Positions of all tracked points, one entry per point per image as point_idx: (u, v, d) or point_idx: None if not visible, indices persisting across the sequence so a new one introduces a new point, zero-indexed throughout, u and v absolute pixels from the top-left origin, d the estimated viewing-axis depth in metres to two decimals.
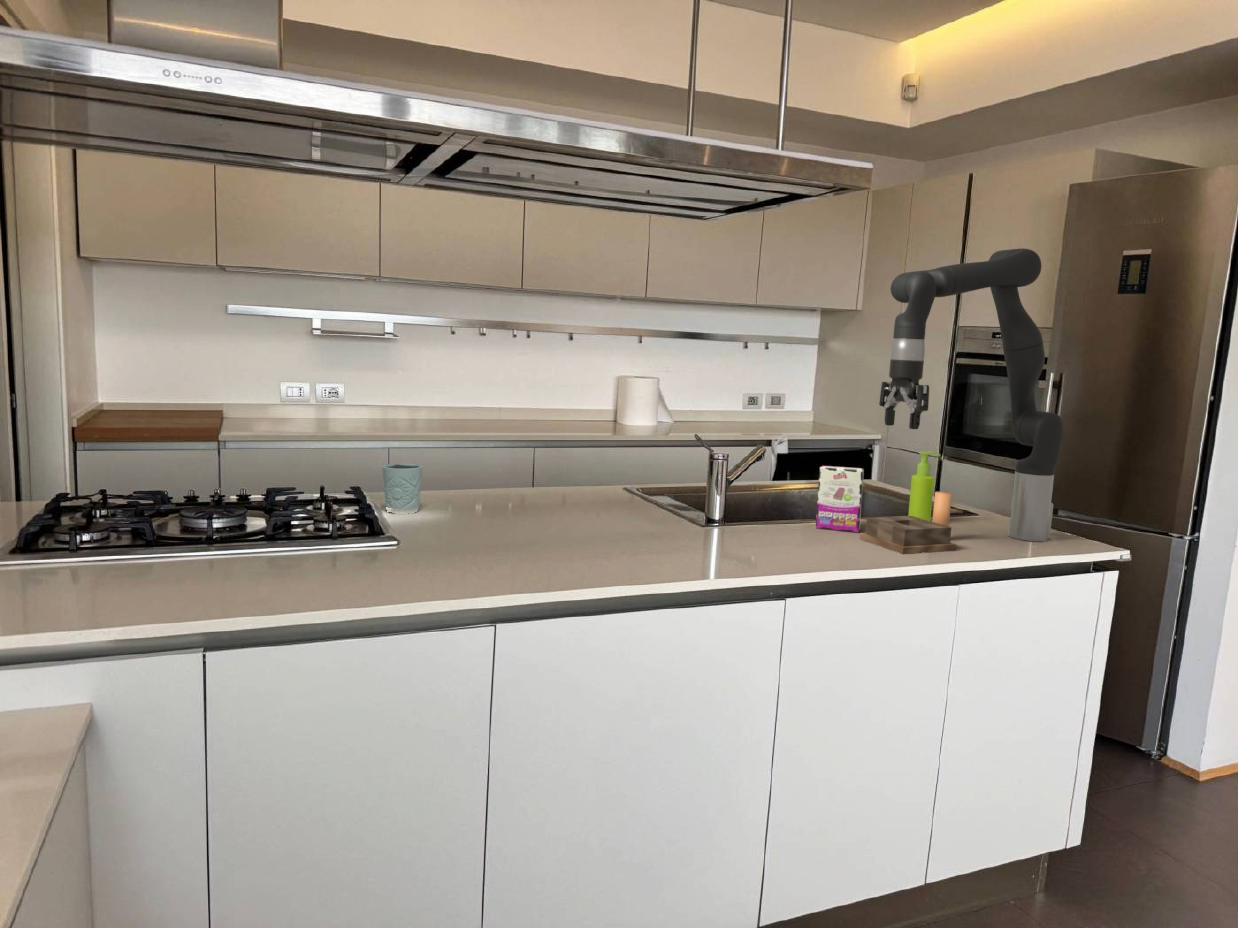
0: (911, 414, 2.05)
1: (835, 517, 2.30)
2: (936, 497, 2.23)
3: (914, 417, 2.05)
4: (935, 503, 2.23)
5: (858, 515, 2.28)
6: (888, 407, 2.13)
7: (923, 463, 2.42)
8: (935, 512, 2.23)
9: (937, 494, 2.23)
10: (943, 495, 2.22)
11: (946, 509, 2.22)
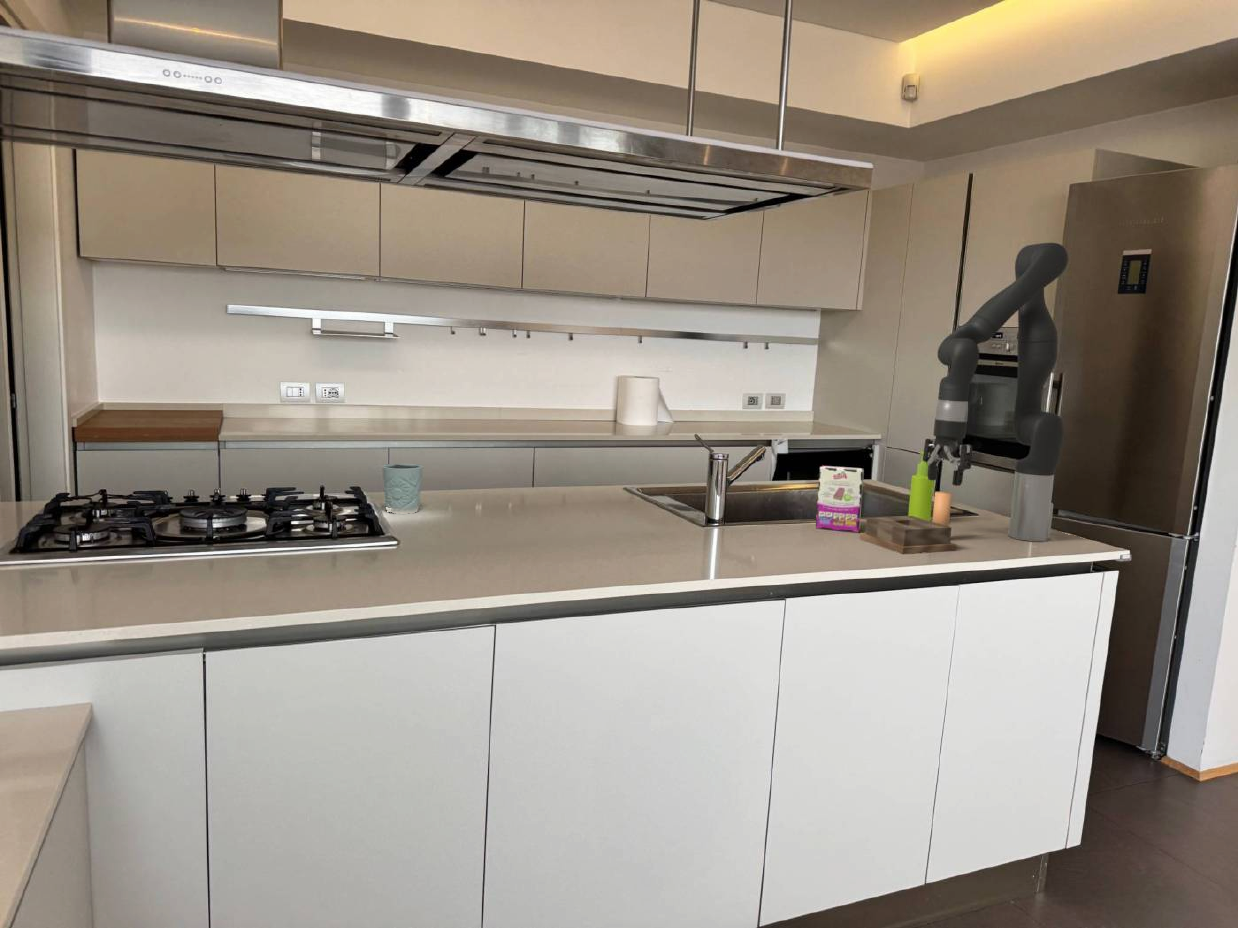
0: (954, 471, 2.18)
1: (835, 517, 2.30)
2: (936, 497, 2.23)
3: (957, 474, 2.18)
4: (935, 503, 2.23)
5: (858, 515, 2.28)
6: (931, 463, 2.26)
7: (923, 463, 2.42)
8: (935, 512, 2.23)
9: (937, 494, 2.23)
10: (943, 495, 2.22)
11: (946, 509, 2.22)
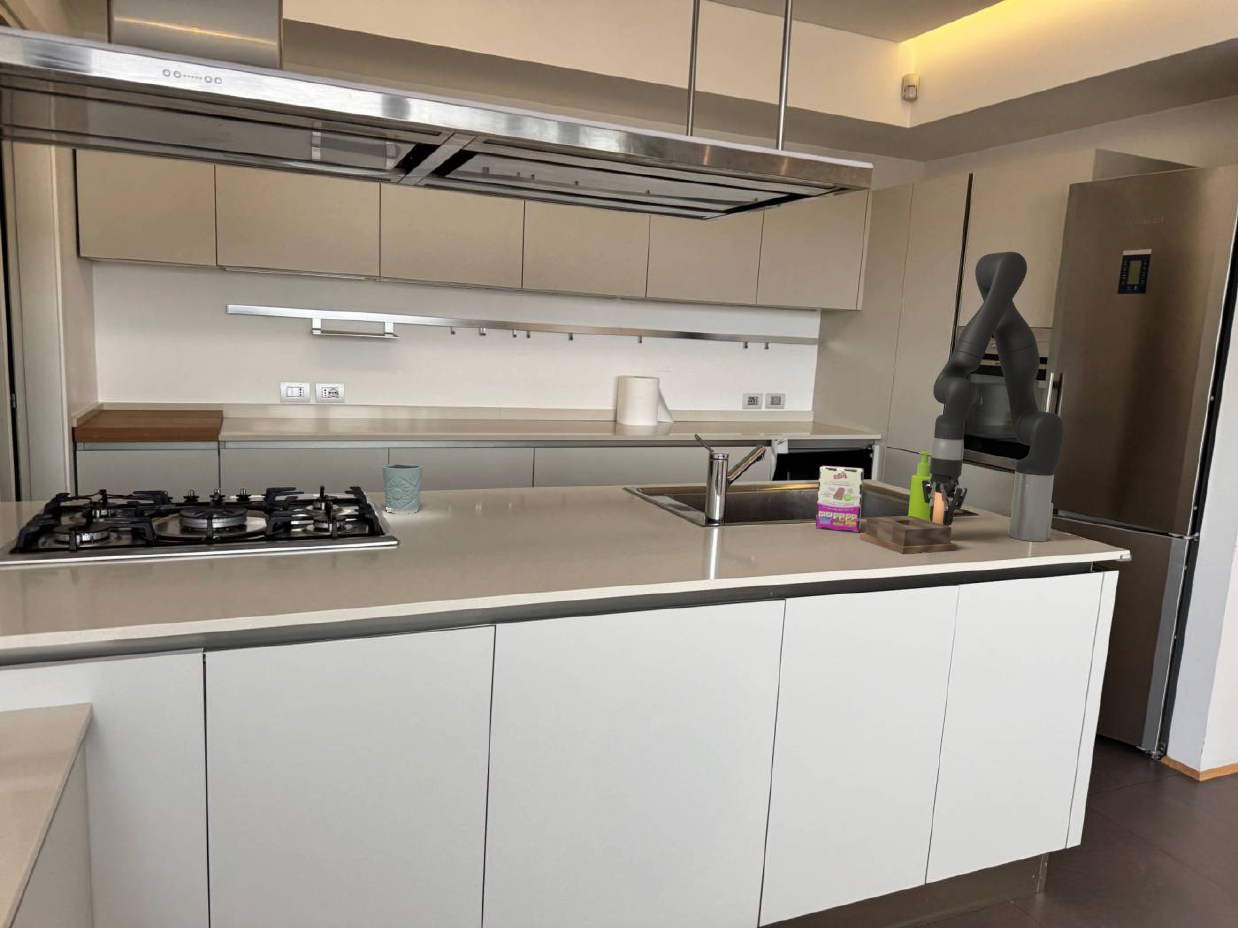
0: (945, 512, 2.21)
1: (835, 517, 2.30)
2: (936, 497, 2.23)
3: (947, 514, 2.21)
4: (935, 503, 2.23)
5: (858, 515, 2.28)
6: (933, 505, 2.25)
7: (923, 463, 2.42)
8: (935, 512, 2.23)
9: (937, 494, 2.23)
10: None
11: None
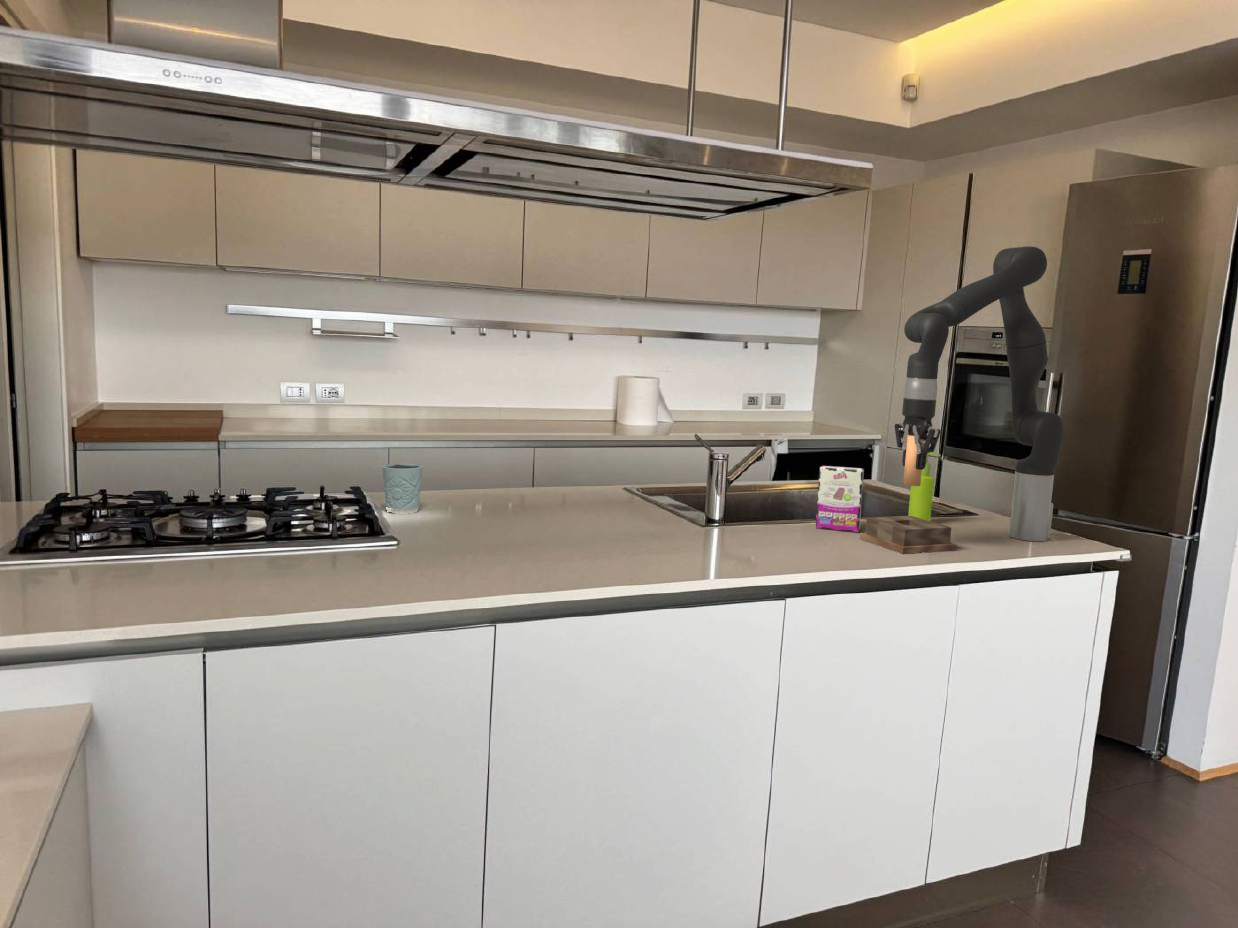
0: (917, 455, 2.12)
1: (835, 517, 2.30)
2: (908, 440, 2.13)
3: (920, 457, 2.11)
4: (907, 446, 2.13)
5: (858, 515, 2.28)
6: None
7: None
8: (907, 456, 2.13)
9: (909, 437, 2.13)
10: None
11: None
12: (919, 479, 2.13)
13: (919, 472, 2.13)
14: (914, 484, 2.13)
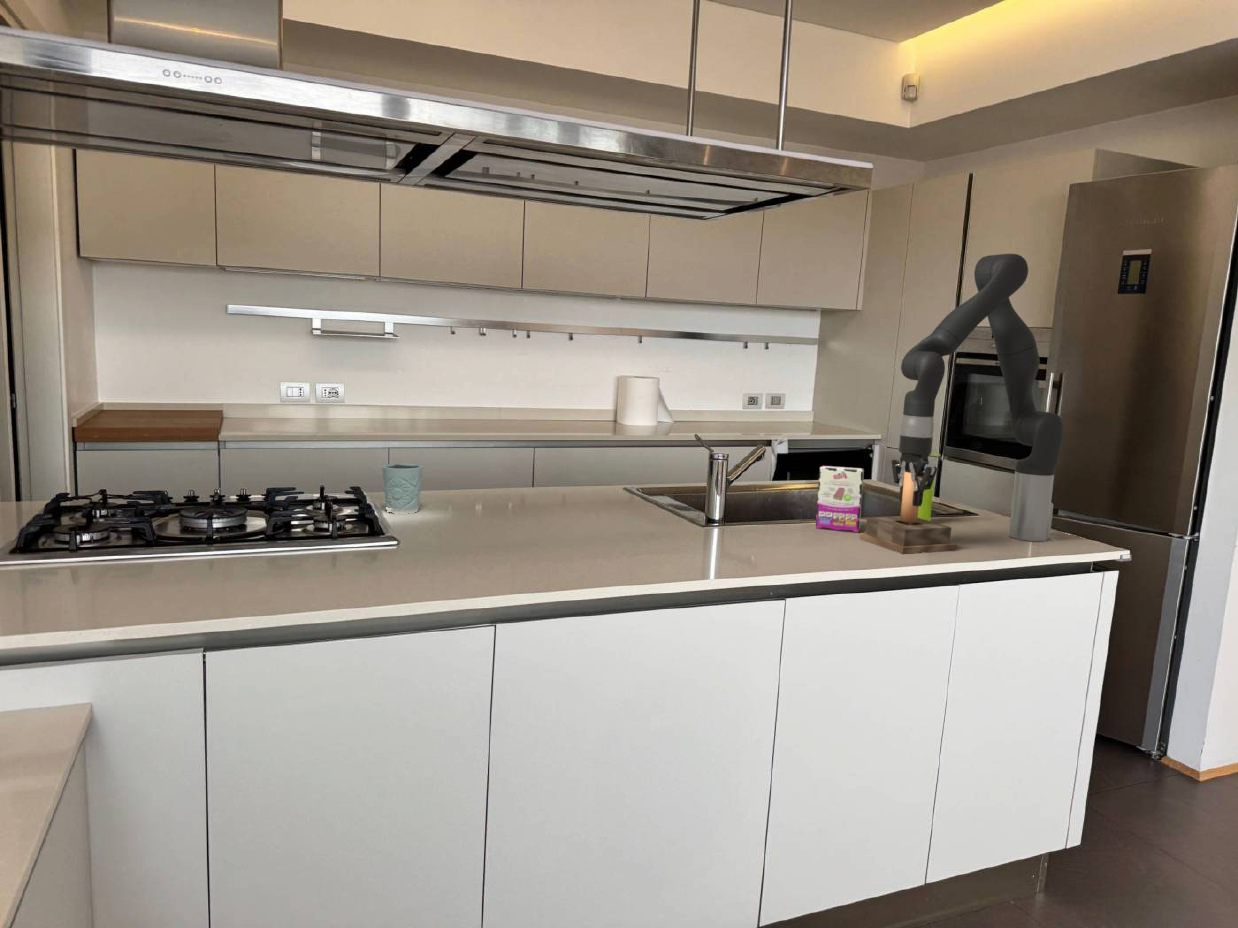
0: (914, 492, 2.13)
1: (835, 517, 2.30)
2: (905, 477, 2.14)
3: (917, 494, 2.13)
4: (904, 483, 2.15)
5: (858, 515, 2.28)
6: None
7: None
8: (904, 492, 2.15)
9: (906, 474, 2.14)
10: None
11: None
12: (916, 515, 2.15)
13: (916, 509, 2.14)
14: (911, 520, 2.14)
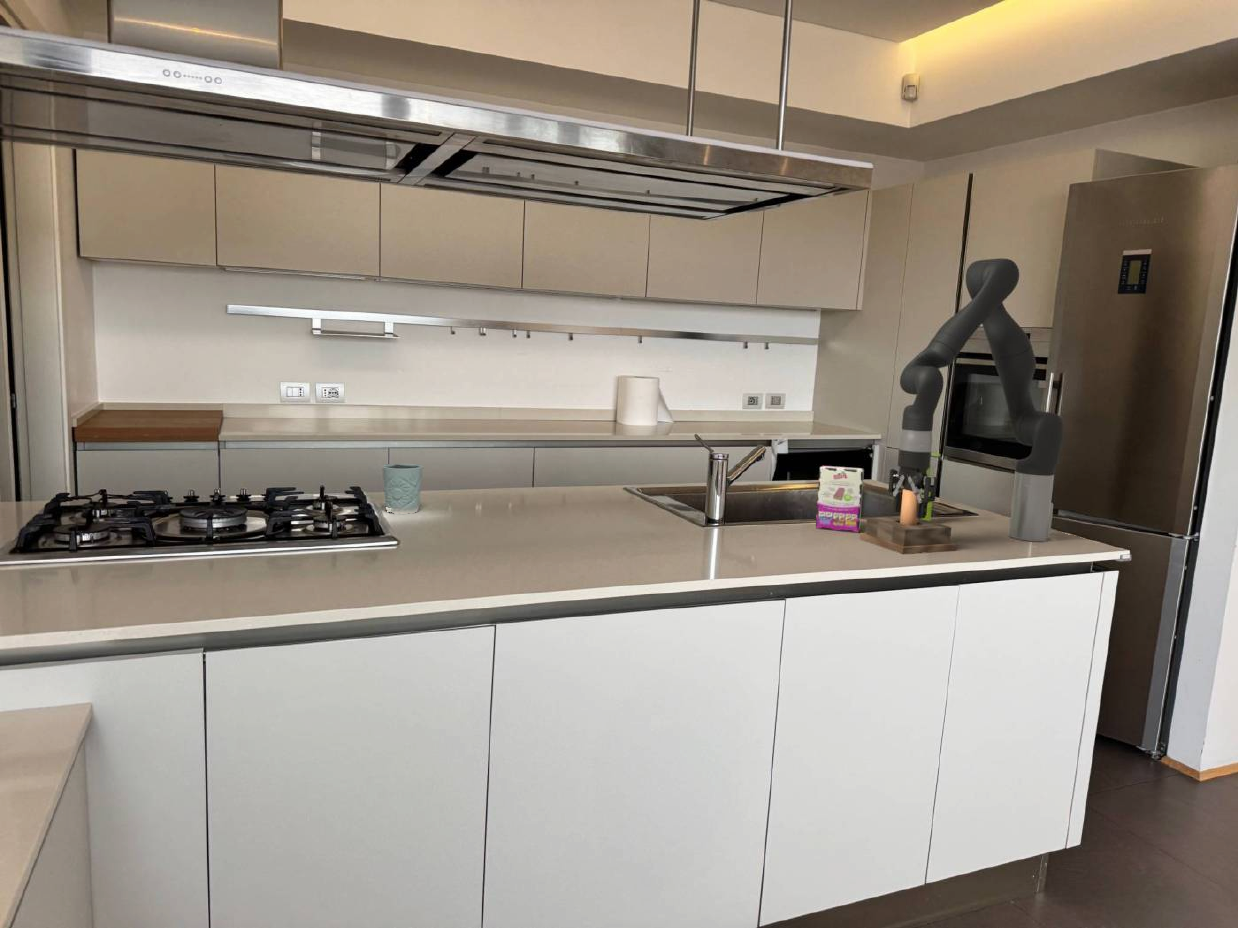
0: (918, 504, 2.12)
1: (835, 517, 2.30)
2: (904, 495, 2.15)
3: (921, 507, 2.11)
4: (903, 501, 2.15)
5: (858, 515, 2.28)
6: (897, 494, 2.19)
7: None
8: (903, 510, 2.15)
9: (905, 492, 2.15)
10: (911, 493, 2.14)
11: (914, 507, 2.14)
12: None
13: None
14: None
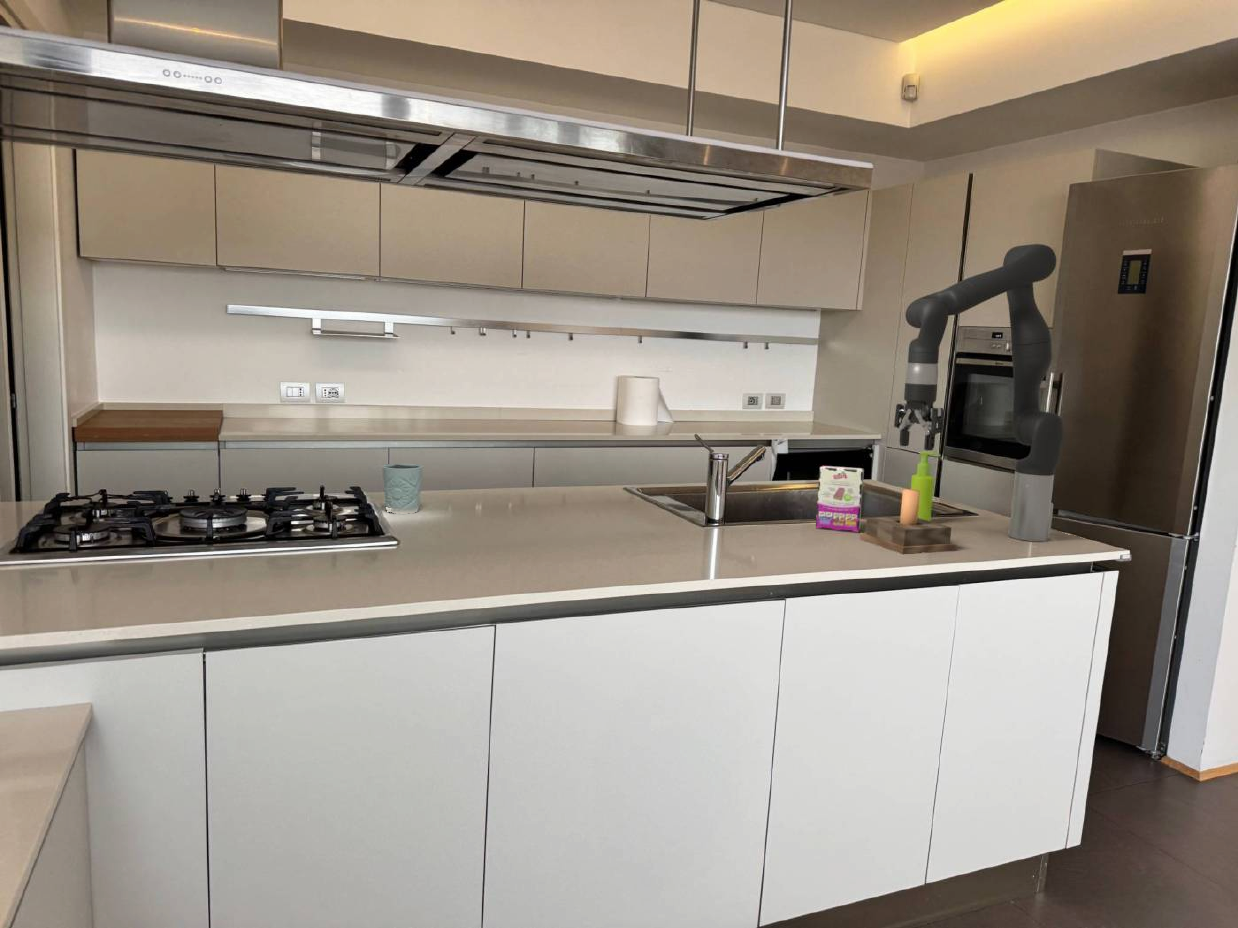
0: (926, 436, 2.13)
1: (835, 517, 2.30)
2: (904, 495, 2.15)
3: (928, 438, 2.13)
4: (903, 501, 2.15)
5: (858, 515, 2.28)
6: (903, 428, 2.20)
7: (923, 463, 2.42)
8: (903, 510, 2.15)
9: (905, 492, 2.15)
10: (911, 493, 2.14)
11: (914, 507, 2.14)
12: None
13: None
14: None
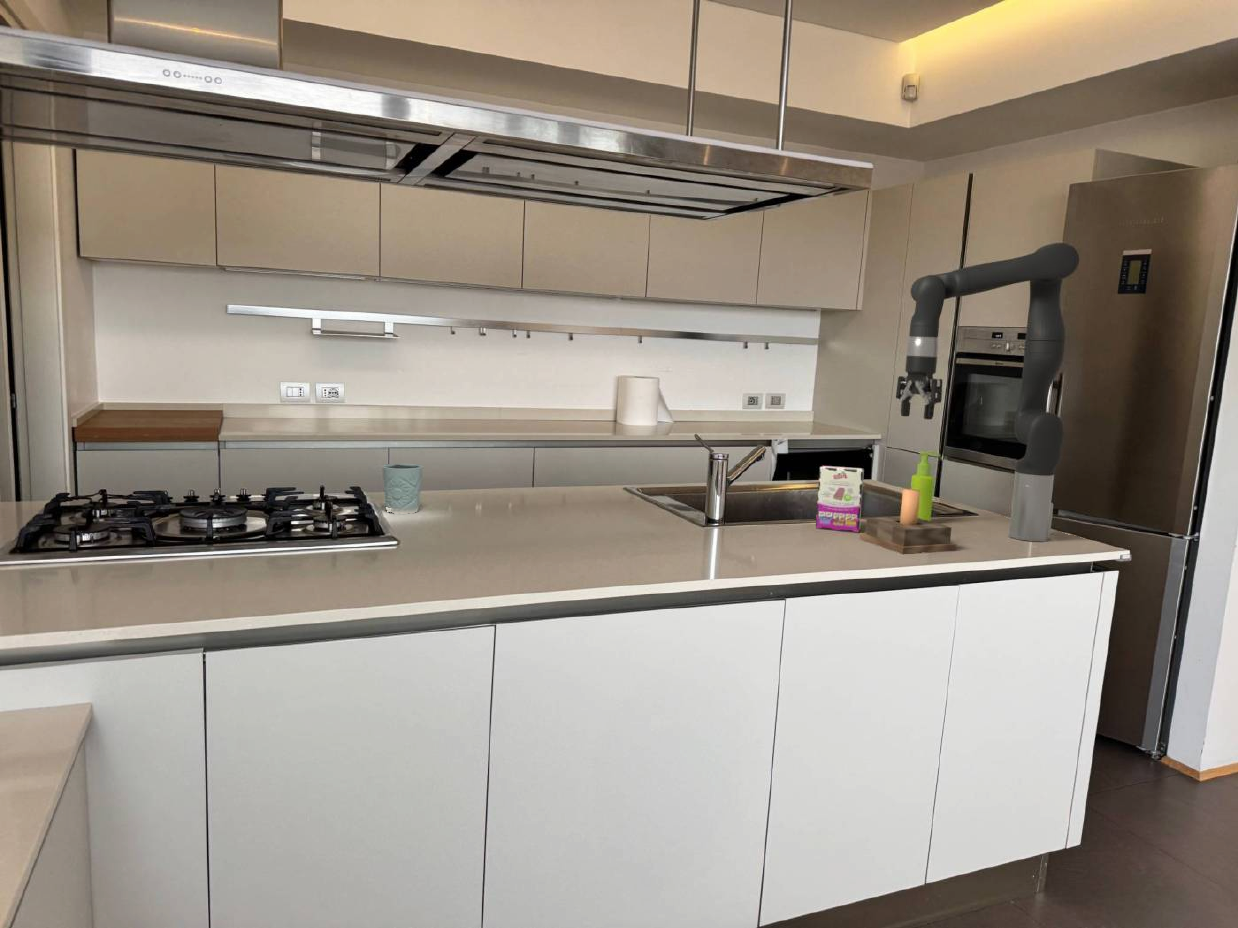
0: (926, 405, 2.24)
1: (835, 517, 2.30)
2: (904, 495, 2.15)
3: (928, 408, 2.24)
4: (903, 501, 2.15)
5: (858, 515, 2.28)
6: (904, 399, 2.32)
7: (923, 463, 2.42)
8: (903, 510, 2.15)
9: (905, 492, 2.15)
10: (911, 493, 2.14)
11: (914, 507, 2.14)
12: None
13: None
14: None
